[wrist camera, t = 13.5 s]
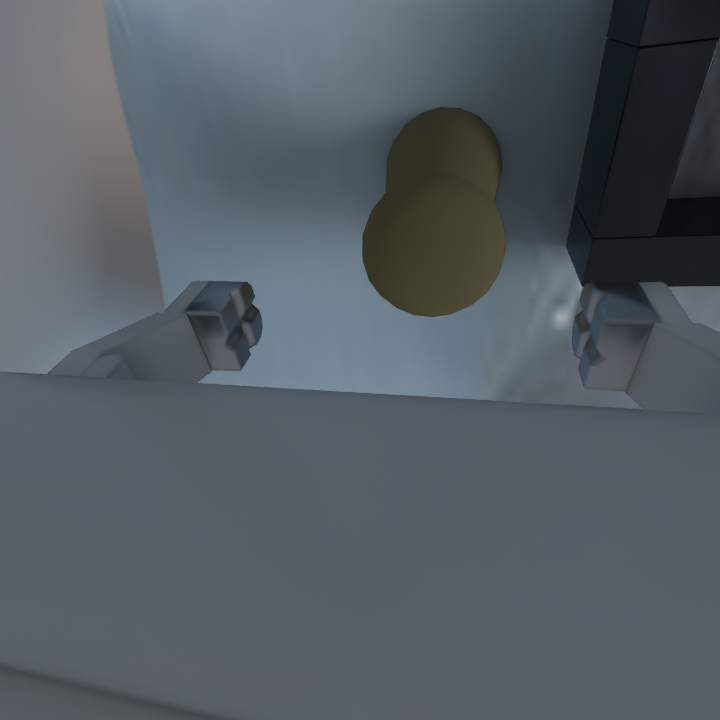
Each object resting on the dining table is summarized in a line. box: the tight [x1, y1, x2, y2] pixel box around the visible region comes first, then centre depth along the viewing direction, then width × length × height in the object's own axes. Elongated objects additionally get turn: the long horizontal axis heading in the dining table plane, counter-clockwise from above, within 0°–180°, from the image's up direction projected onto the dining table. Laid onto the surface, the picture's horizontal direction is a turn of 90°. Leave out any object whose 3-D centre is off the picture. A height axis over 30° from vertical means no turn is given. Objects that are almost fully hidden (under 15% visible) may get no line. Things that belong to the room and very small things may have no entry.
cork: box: [362, 107, 506, 317], centre depth 19 cm, size 6×6×11 cm
